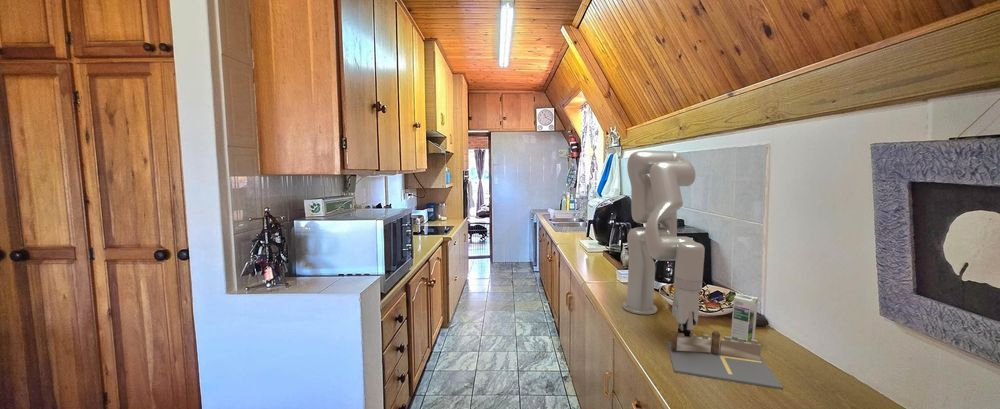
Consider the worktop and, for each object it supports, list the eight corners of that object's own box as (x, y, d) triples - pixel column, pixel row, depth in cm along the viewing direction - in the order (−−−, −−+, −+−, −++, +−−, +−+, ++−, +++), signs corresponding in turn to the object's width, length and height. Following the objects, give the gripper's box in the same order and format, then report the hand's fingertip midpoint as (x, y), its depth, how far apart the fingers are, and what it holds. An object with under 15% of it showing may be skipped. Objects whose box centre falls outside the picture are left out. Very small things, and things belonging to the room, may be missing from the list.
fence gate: (708, 350, 115) (709, 333, 115) (710, 352, 114) (712, 336, 113) (669, 348, 116) (671, 332, 116) (671, 350, 115) (672, 334, 114)
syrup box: (729, 341, 124) (733, 296, 122) (734, 335, 128) (737, 292, 126) (750, 347, 120) (754, 301, 118) (754, 340, 124) (758, 296, 122)
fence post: (709, 352, 116) (711, 329, 115) (757, 359, 112) (760, 335, 111) (711, 356, 114) (712, 332, 113) (760, 363, 110) (762, 338, 109)
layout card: (666, 342, 122) (667, 340, 122) (758, 355, 115) (759, 353, 115) (674, 372, 105) (674, 369, 105) (782, 389, 98) (782, 387, 98)
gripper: (667, 275, 124) (664, 330, 126) (681, 291, 109) (677, 353, 111) (693, 276, 122) (689, 332, 125) (710, 292, 108) (705, 355, 110)
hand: (683, 342), depth 118 cm, fingers closed
